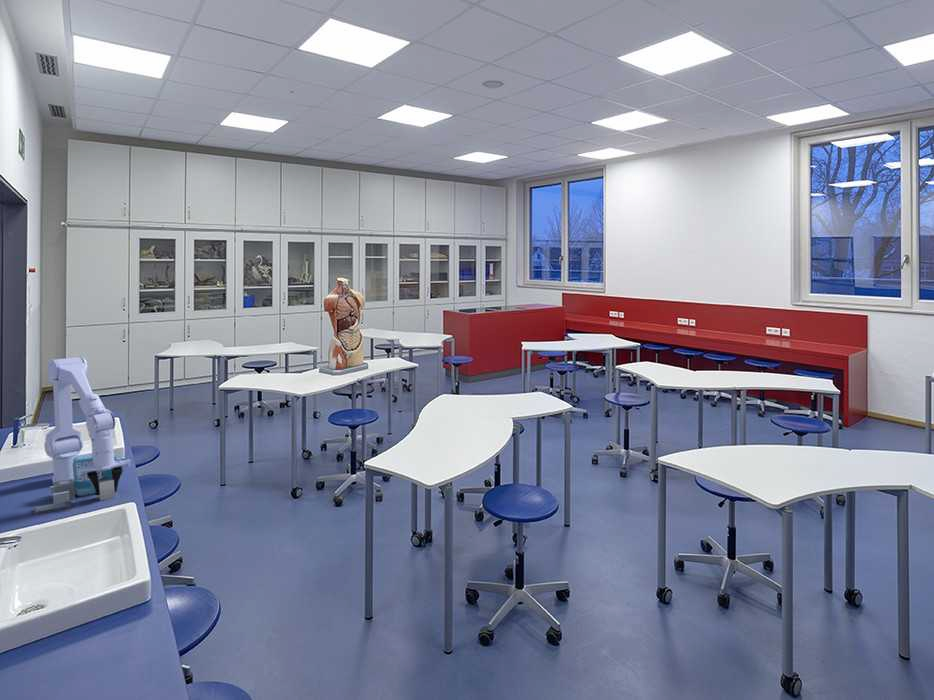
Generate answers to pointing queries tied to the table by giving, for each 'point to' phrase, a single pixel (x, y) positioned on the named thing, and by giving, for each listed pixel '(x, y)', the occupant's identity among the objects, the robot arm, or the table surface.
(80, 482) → the data package
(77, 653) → the table surface
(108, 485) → the metal plug
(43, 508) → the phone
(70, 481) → the cube
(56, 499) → the socket rails
